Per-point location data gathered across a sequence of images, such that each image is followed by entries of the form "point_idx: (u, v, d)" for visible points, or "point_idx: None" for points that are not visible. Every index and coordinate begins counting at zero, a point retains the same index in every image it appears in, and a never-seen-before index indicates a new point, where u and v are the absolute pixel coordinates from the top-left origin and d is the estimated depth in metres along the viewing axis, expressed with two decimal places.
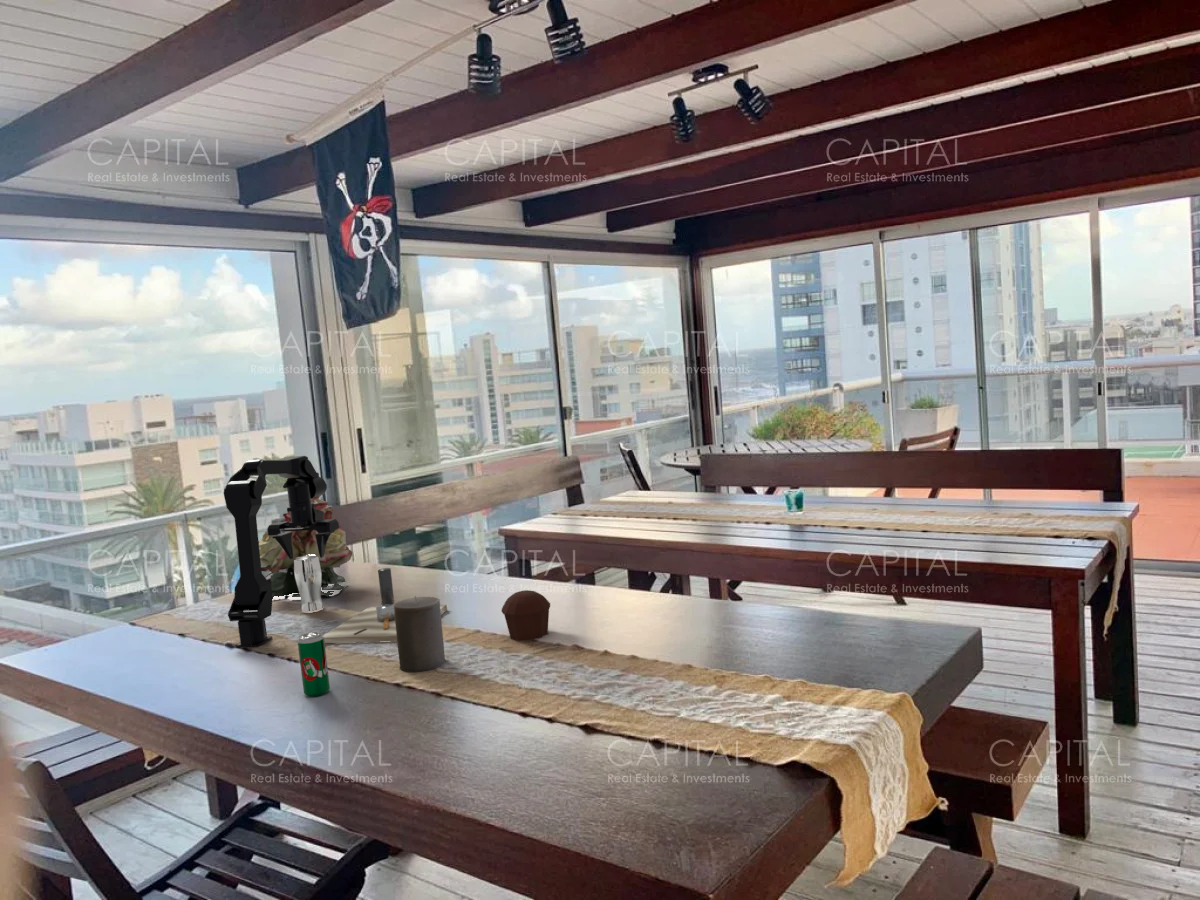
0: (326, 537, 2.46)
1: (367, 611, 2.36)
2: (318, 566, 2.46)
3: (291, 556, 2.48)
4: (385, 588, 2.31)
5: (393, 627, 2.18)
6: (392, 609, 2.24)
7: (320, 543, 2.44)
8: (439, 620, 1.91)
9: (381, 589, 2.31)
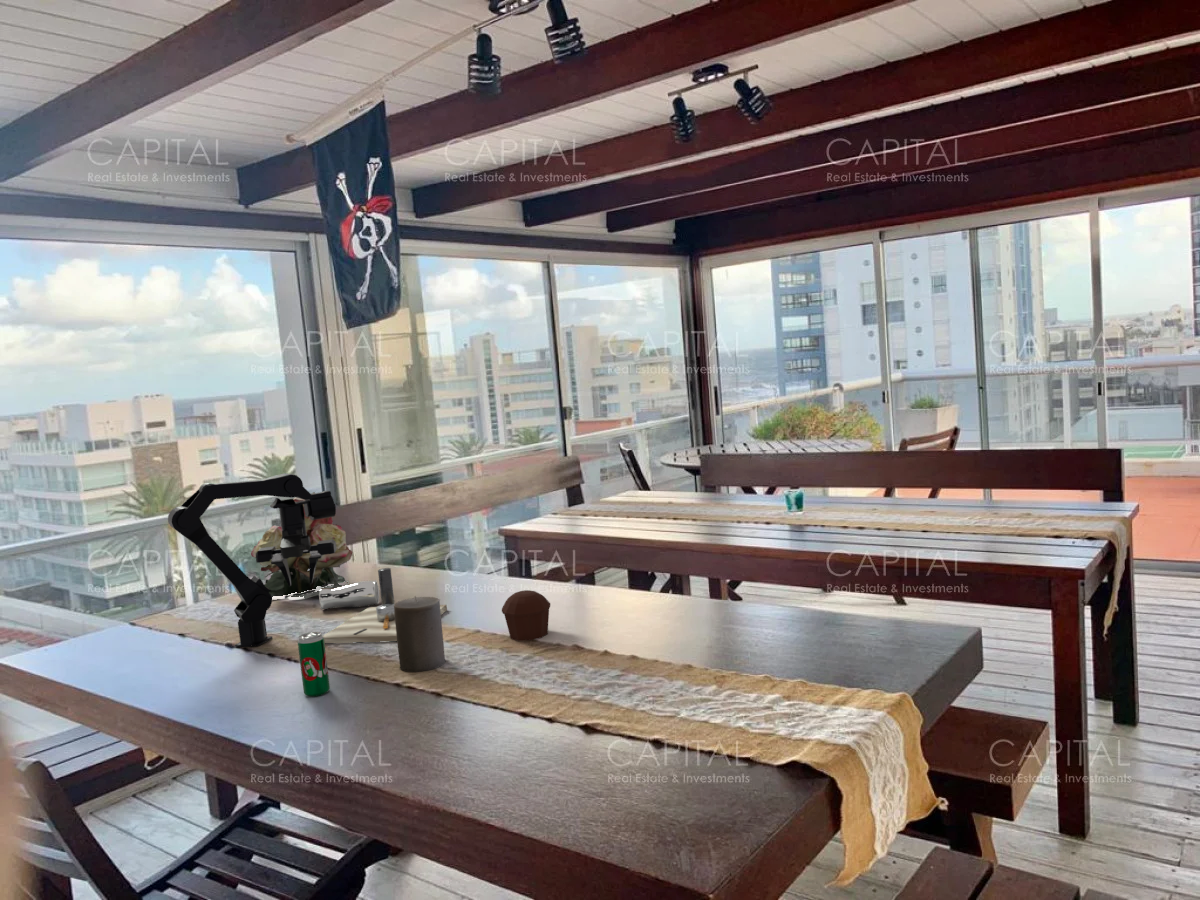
0: None
1: (367, 611, 2.36)
2: None
3: (310, 580, 2.27)
4: (385, 588, 2.31)
5: (393, 627, 2.18)
6: (392, 609, 2.24)
7: None
8: (439, 620, 1.91)
9: (381, 589, 2.31)
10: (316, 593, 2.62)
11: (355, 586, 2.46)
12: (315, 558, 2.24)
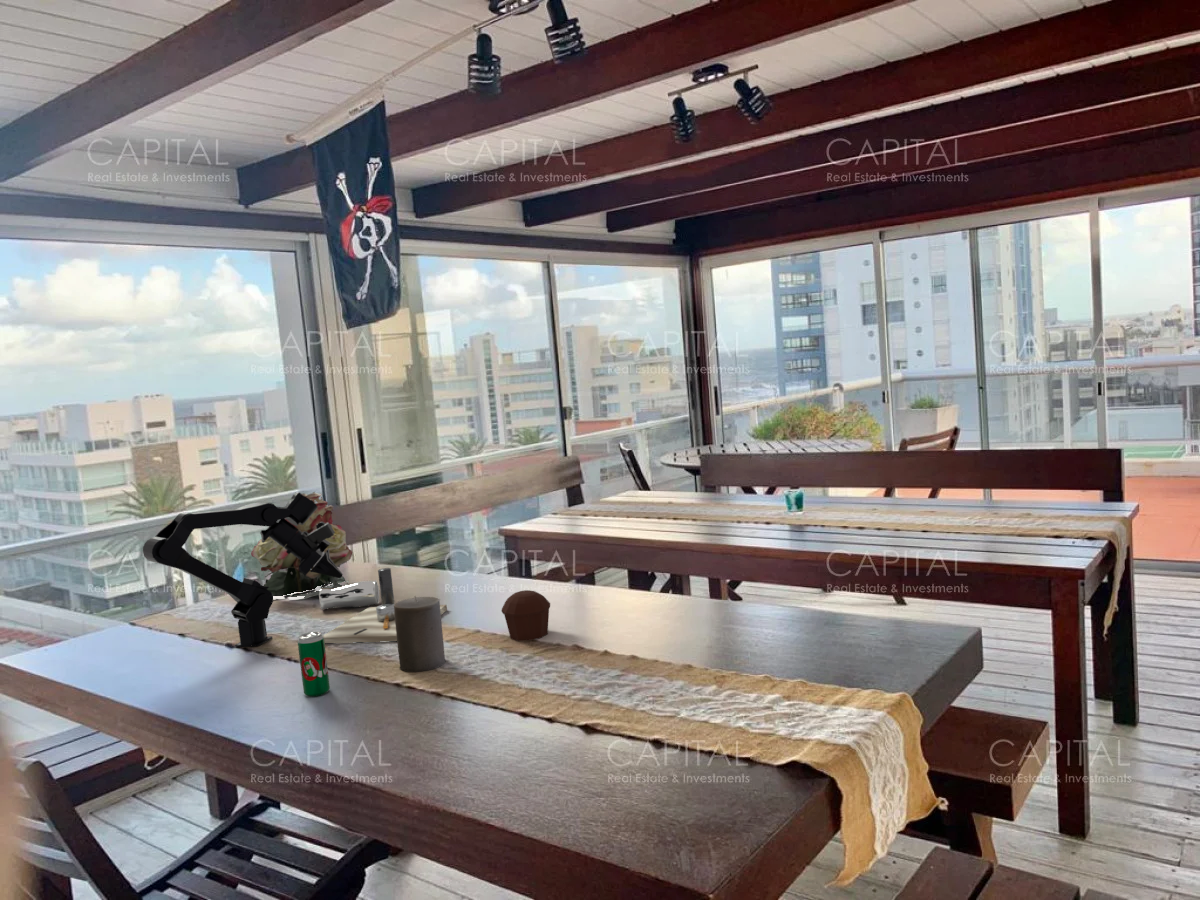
0: (326, 562, 2.27)
1: (367, 611, 2.36)
2: None
3: None
4: (385, 588, 2.31)
5: (393, 627, 2.18)
6: (392, 609, 2.24)
7: (322, 573, 2.27)
8: (439, 620, 1.91)
9: (381, 589, 2.31)
10: (316, 593, 2.63)
11: (355, 586, 2.46)
12: (328, 550, 2.31)
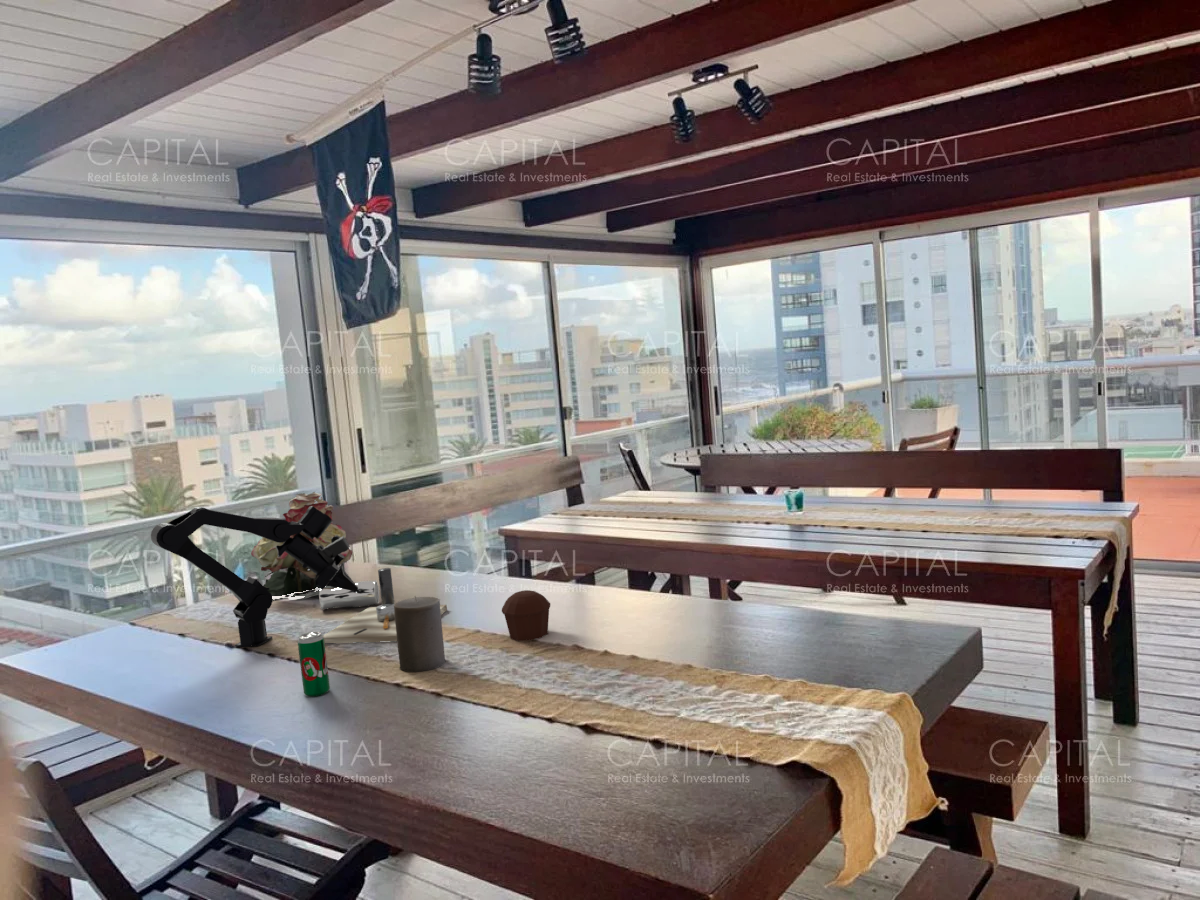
0: (341, 576, 2.28)
1: (367, 611, 2.36)
2: None
3: None
4: (385, 588, 2.31)
5: (393, 627, 2.18)
6: (392, 609, 2.24)
7: None
8: (439, 620, 1.91)
9: (381, 589, 2.31)
10: (316, 593, 2.63)
11: None
12: (343, 563, 2.32)
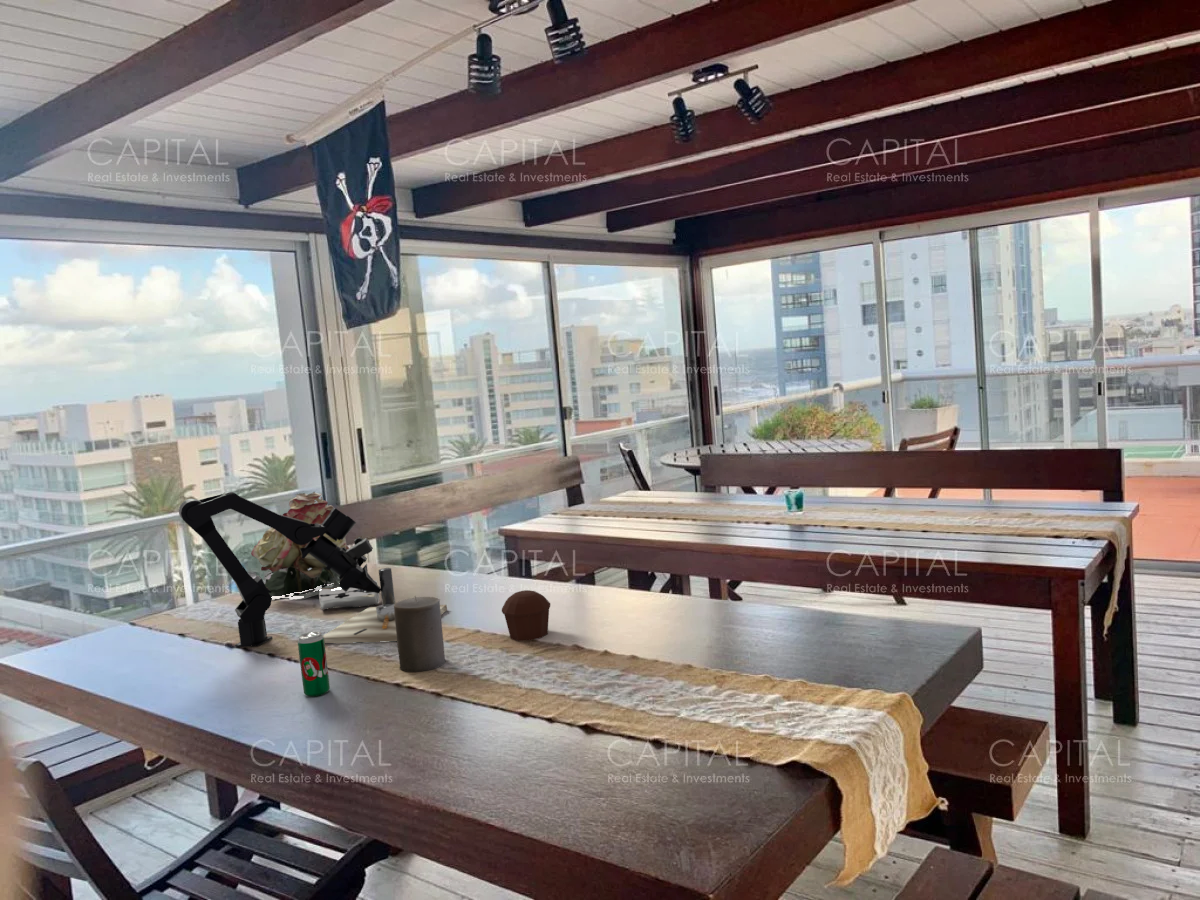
0: (365, 578, 2.29)
1: (367, 611, 2.36)
2: None
3: None
4: (386, 588, 2.31)
5: (393, 627, 2.18)
6: (392, 609, 2.24)
7: (361, 589, 2.29)
8: (439, 620, 1.91)
9: (382, 589, 2.31)
10: (316, 592, 2.63)
11: None
12: (366, 565, 2.33)
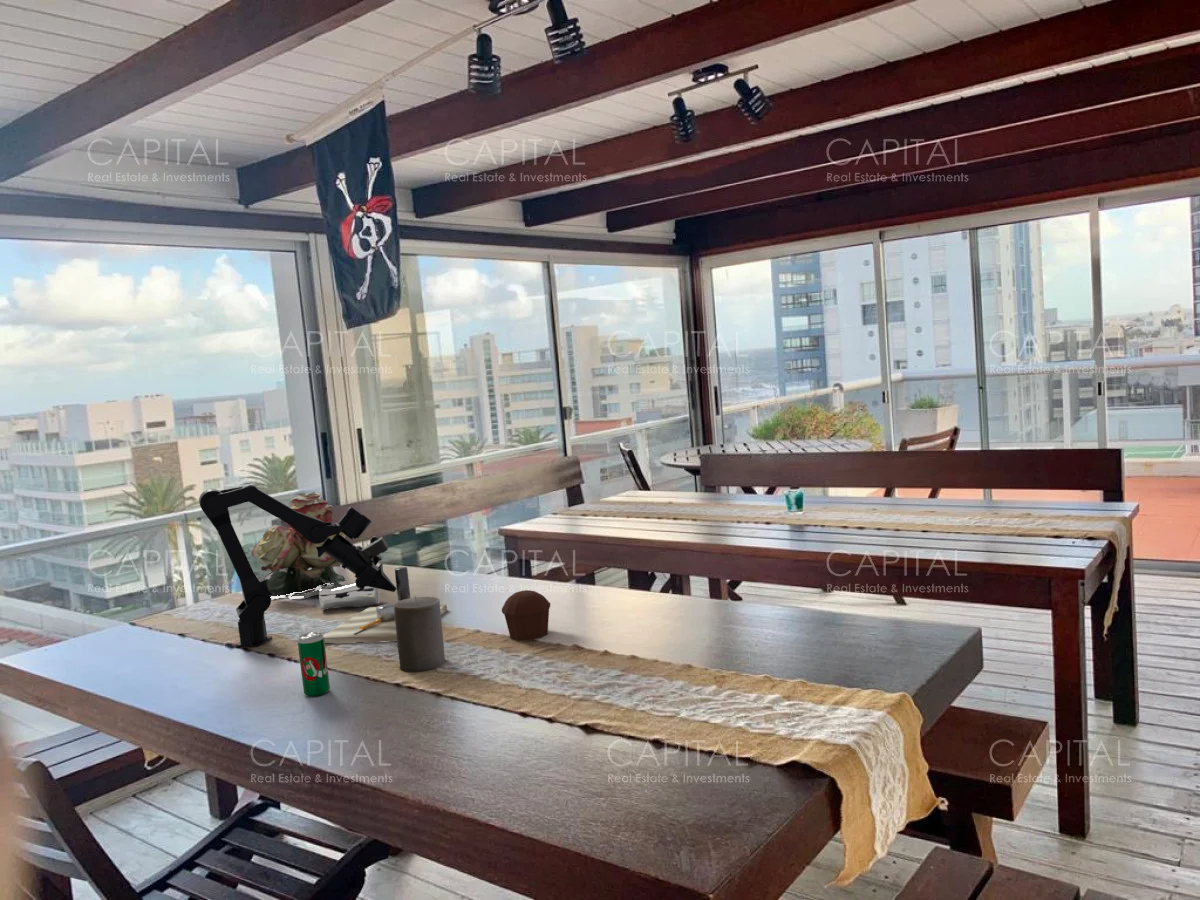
0: (380, 576, 2.30)
1: (367, 611, 2.36)
2: None
3: None
4: (398, 587, 2.30)
5: (393, 627, 2.18)
6: (386, 610, 2.24)
7: (376, 587, 2.30)
8: (439, 620, 1.91)
9: None
10: (316, 592, 2.63)
11: (355, 586, 2.46)
12: (382, 564, 2.33)
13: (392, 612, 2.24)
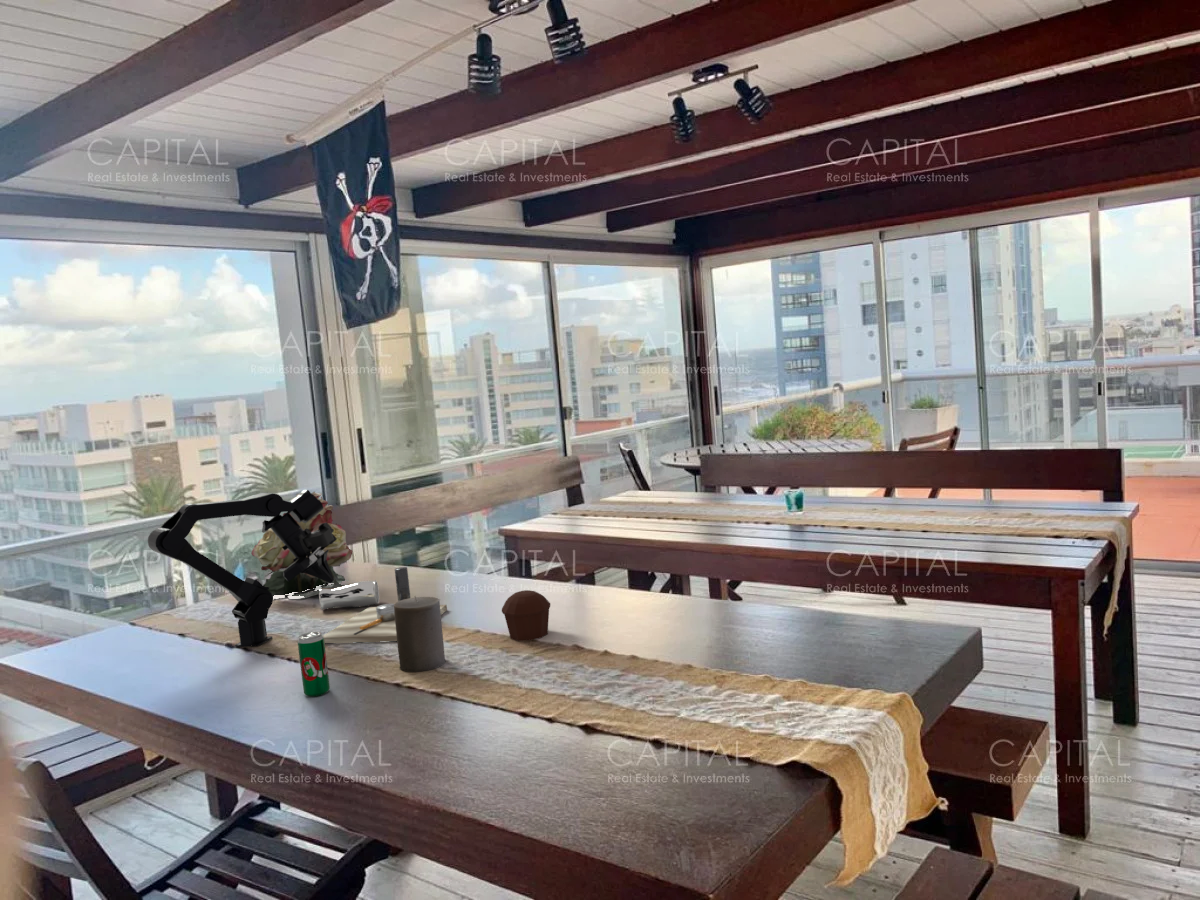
0: (317, 567, 2.26)
1: (367, 611, 2.36)
2: None
3: None
4: (398, 587, 2.30)
5: (393, 627, 2.18)
6: (386, 610, 2.24)
7: None
8: (439, 620, 1.91)
9: None
10: (316, 592, 2.64)
11: (355, 586, 2.46)
12: (326, 552, 2.29)
13: (392, 612, 2.24)
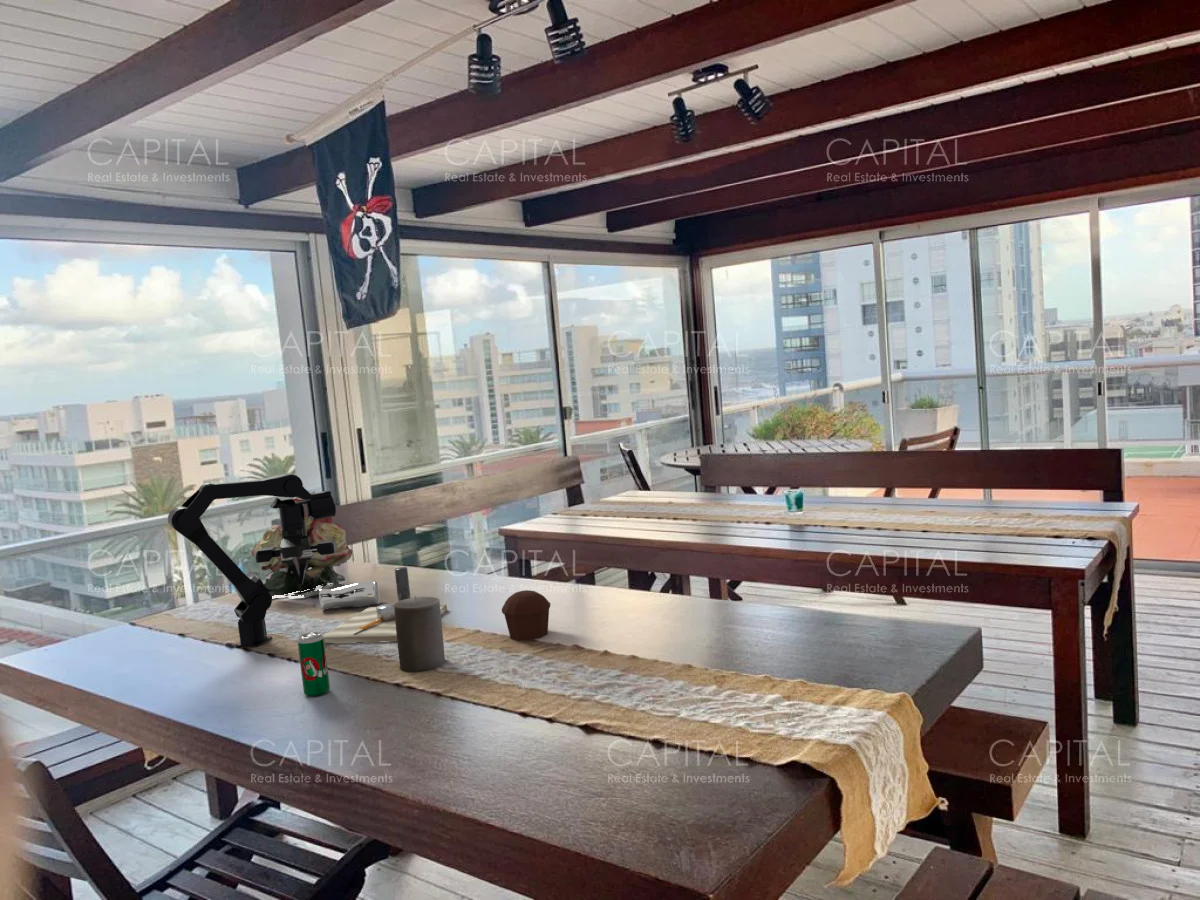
0: None
1: (367, 611, 2.36)
2: None
3: None
4: (398, 587, 2.30)
5: (393, 627, 2.18)
6: (386, 610, 2.24)
7: None
8: (439, 620, 1.91)
9: None
10: (316, 592, 2.64)
11: (355, 586, 2.46)
12: (305, 559, 2.24)
13: (392, 612, 2.24)
